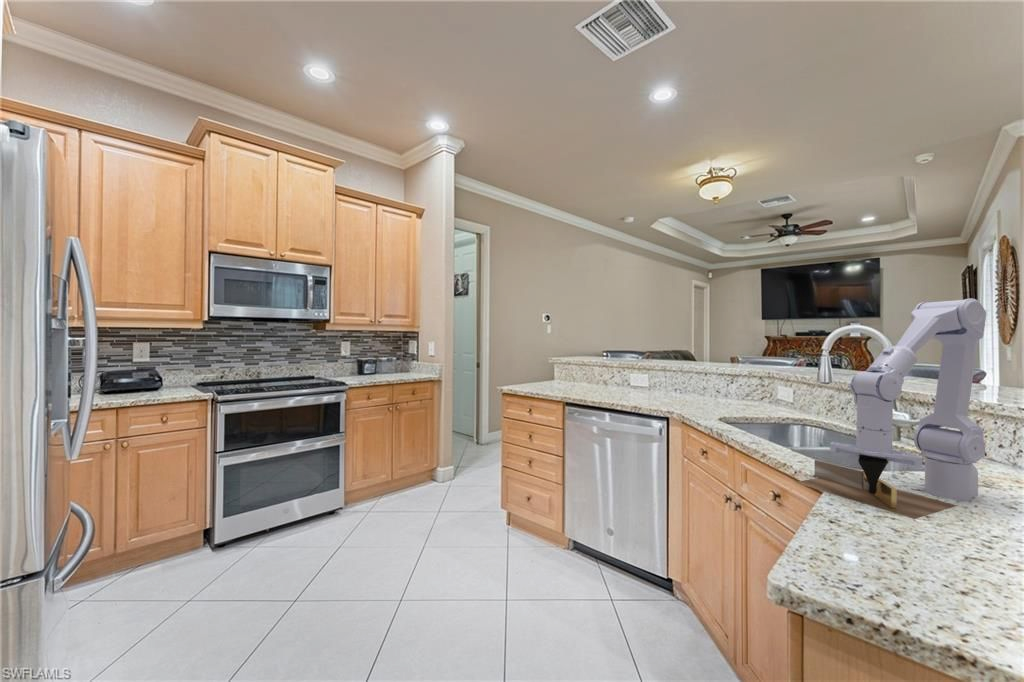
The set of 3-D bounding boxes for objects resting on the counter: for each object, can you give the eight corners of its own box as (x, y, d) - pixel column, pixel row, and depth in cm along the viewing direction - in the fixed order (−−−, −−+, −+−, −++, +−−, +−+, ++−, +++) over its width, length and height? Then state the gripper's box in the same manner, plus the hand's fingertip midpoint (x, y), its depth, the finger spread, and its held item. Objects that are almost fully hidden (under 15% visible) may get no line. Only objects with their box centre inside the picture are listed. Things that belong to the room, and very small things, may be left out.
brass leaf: (862, 487, 94) (862, 471, 94) (871, 488, 93) (872, 472, 93) (888, 507, 83) (888, 488, 83) (899, 508, 82) (899, 489, 82)
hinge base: (832, 476, 106) (832, 456, 106) (957, 510, 85) (957, 485, 85) (789, 484, 99) (789, 464, 99) (914, 523, 78) (914, 497, 78)
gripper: (827, 425, 90) (826, 487, 90) (920, 437, 79) (919, 508, 79) (834, 421, 95) (833, 480, 95) (923, 432, 84) (922, 499, 84)
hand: (873, 492), depth 87 cm, fingers closed
